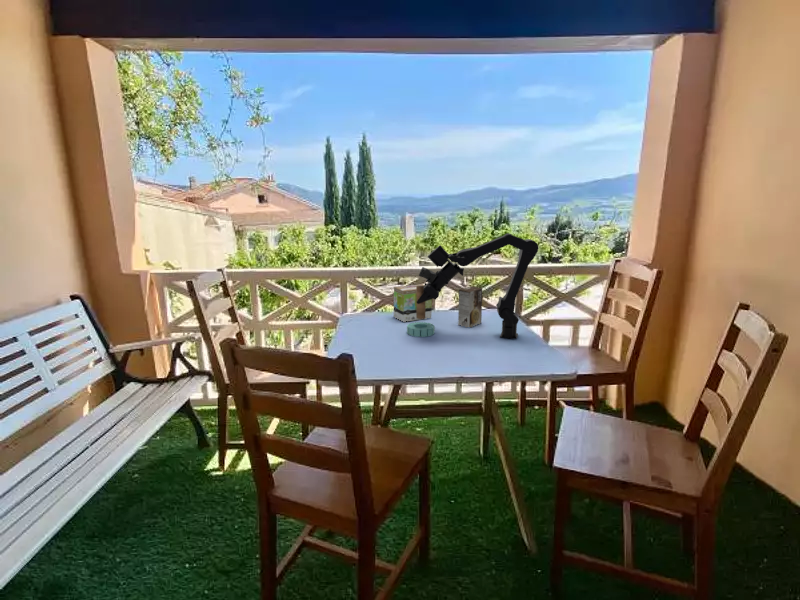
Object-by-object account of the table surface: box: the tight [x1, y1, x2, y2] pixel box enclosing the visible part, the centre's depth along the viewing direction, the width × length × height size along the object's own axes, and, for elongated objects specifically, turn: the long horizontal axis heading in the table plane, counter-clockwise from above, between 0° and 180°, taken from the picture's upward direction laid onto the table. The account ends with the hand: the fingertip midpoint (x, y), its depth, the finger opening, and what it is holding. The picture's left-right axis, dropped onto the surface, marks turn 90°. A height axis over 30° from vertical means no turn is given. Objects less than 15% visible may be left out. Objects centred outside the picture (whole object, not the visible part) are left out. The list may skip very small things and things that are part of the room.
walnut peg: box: [416, 284, 426, 320], centre depth 184 cm, size 4×4×13 cm
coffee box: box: [457, 286, 483, 328], centre depth 198 cm, size 9×6×16 cm
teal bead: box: [406, 321, 436, 338], centre depth 188 cm, size 11×11×3 cm
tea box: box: [393, 283, 433, 323], centre depth 210 cm, size 15×10×15 cm, turn 118°
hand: (417, 301), depth 184 cm, fingers closed on walnut peg, 4 cm apart
